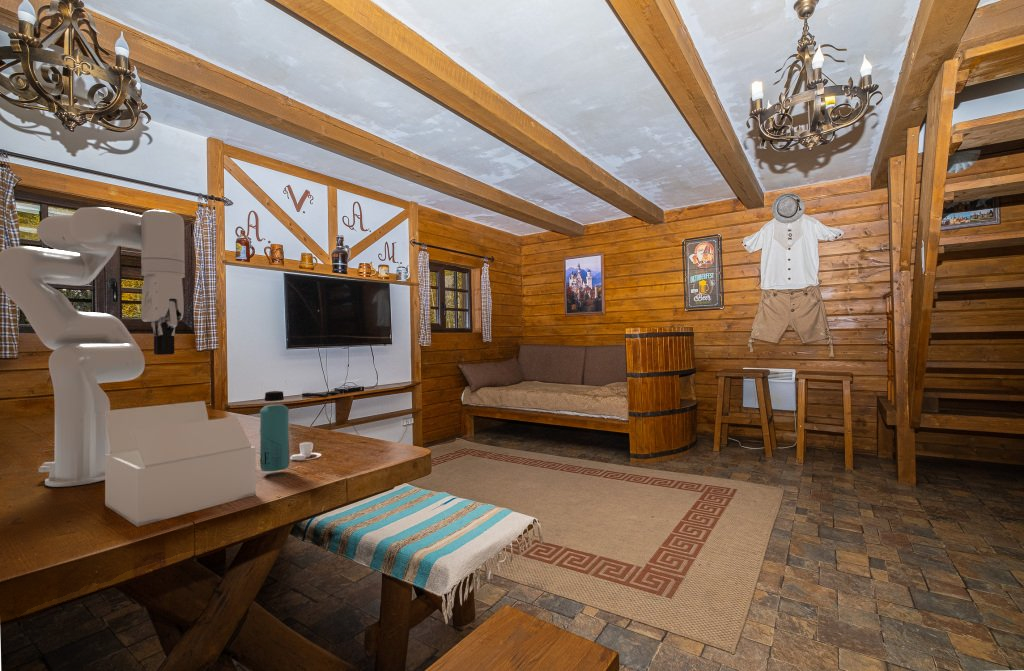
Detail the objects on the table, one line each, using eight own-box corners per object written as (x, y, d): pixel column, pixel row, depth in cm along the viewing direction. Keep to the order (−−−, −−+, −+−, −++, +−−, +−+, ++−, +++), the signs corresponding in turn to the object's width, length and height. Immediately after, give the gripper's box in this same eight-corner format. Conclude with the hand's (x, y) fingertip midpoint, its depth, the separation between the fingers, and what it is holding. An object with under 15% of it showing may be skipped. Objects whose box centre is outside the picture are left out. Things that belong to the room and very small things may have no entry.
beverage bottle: (295, 470, 115) (295, 389, 115) (279, 478, 109) (279, 392, 109) (270, 469, 116) (270, 389, 116) (253, 477, 109) (252, 392, 109)
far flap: (105, 410, 94) (105, 411, 95) (111, 453, 92) (111, 454, 92) (204, 400, 109) (203, 401, 109) (212, 437, 107) (210, 438, 107)
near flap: (144, 467, 82) (145, 465, 82) (132, 432, 86) (132, 430, 85) (250, 447, 97) (251, 445, 96) (235, 418, 100) (236, 416, 100)
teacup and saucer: (296, 464, 123) (296, 448, 123) (281, 459, 128) (281, 444, 128) (327, 457, 130) (327, 442, 130) (311, 453, 134) (311, 439, 135)
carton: (137, 526, 81) (137, 469, 81) (105, 505, 91) (105, 454, 91) (255, 494, 97) (255, 446, 97) (216, 479, 108) (216, 436, 108)
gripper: (129, 271, 102) (130, 355, 101) (156, 263, 93) (156, 355, 93) (169, 274, 108) (170, 353, 108) (198, 268, 99) (199, 354, 99)
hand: (164, 354), depth 100 cm, fingers closed
